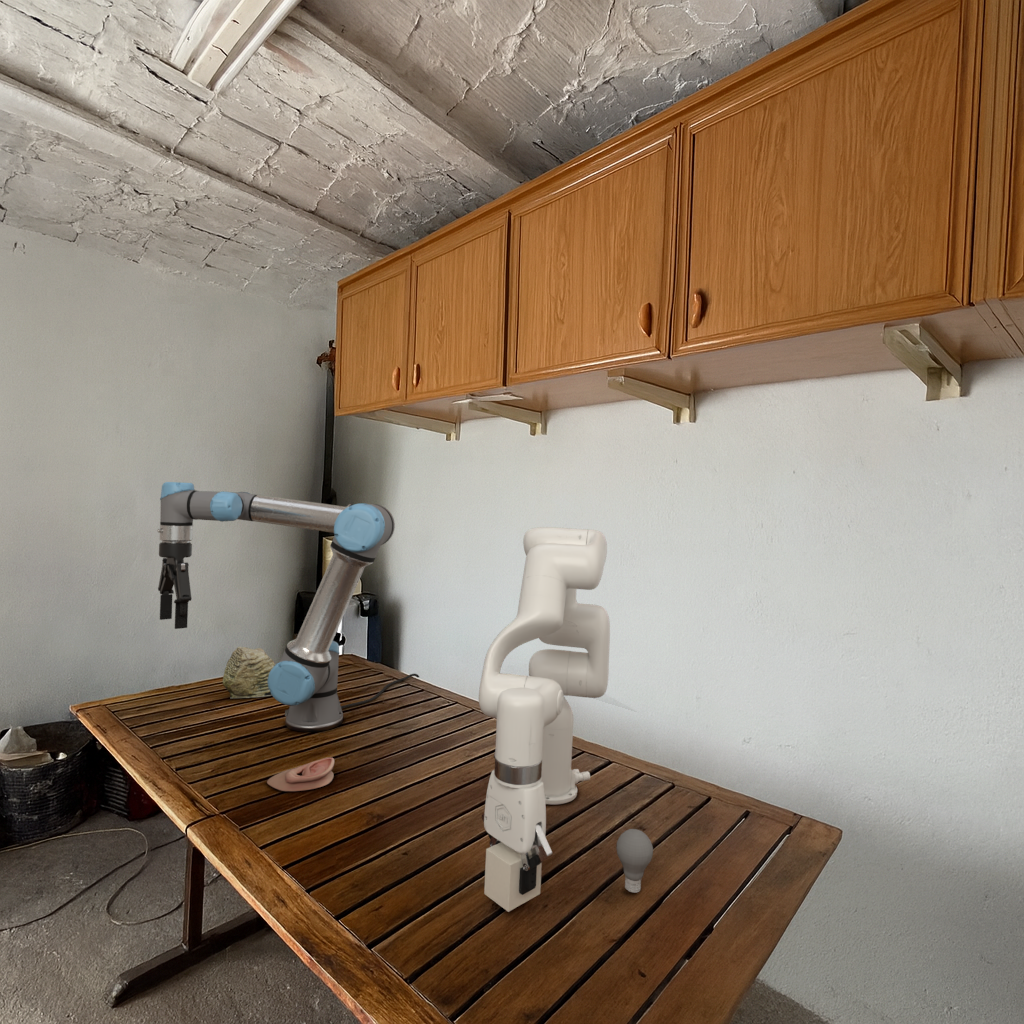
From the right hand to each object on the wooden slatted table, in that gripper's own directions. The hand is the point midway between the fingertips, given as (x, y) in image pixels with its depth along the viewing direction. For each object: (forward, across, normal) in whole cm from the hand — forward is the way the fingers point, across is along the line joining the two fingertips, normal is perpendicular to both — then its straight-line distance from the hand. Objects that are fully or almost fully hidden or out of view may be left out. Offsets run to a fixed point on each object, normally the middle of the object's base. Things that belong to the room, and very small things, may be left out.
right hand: (513, 879), depth 101 cm
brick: (+2, 0, 0) cm, 2 cm away
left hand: (-24, -108, -22) cm, 112 cm away
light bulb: (+4, +10, +18) cm, 21 cm away
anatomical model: (+4, -61, -7) cm, 62 cm away
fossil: (+5, -126, +7) cm, 126 cm away
